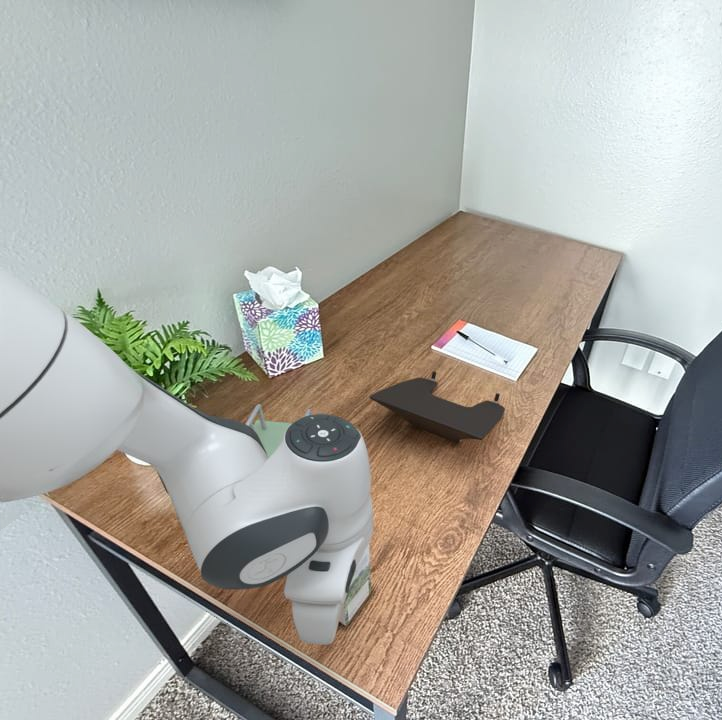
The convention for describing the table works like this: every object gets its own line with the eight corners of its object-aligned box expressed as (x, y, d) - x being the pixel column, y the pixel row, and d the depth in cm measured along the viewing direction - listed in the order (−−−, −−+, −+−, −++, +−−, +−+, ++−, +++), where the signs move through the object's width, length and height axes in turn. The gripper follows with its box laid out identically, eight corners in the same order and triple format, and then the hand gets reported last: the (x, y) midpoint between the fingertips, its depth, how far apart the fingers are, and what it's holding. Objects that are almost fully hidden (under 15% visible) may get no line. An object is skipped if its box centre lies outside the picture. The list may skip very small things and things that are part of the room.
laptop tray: (503, 436, 104) (514, 398, 102) (473, 474, 82) (486, 427, 80) (412, 402, 109) (421, 366, 107) (361, 430, 88) (371, 385, 86)
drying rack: (301, 498, 80) (295, 471, 75) (218, 490, 79) (207, 462, 75) (328, 430, 93) (324, 403, 88) (257, 423, 92) (249, 395, 87)
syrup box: (341, 572, 71) (334, 518, 62) (373, 592, 69) (369, 539, 60) (314, 606, 67) (302, 553, 58) (347, 628, 65) (339, 577, 56)
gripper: (334, 453, 63) (341, 512, 72) (276, 608, 47) (294, 660, 56) (380, 458, 64) (382, 516, 72) (338, 614, 48) (347, 664, 56)
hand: (343, 580), depth 64 cm, fingers closed on syrup box, 7 cm apart
